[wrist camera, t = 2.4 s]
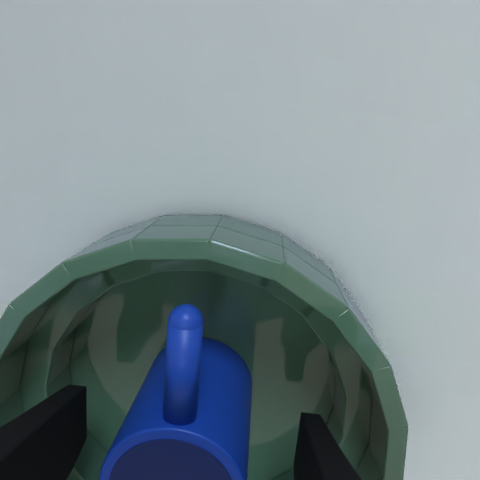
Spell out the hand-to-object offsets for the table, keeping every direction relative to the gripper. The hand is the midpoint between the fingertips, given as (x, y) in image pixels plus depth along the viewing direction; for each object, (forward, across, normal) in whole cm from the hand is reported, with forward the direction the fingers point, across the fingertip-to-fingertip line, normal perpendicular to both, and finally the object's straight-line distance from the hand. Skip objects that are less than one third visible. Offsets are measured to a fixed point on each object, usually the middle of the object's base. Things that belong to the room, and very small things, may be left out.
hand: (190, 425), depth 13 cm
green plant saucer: (+3, 0, 0) cm, 3 cm away
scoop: (+2, 0, -2) cm, 3 cm away
